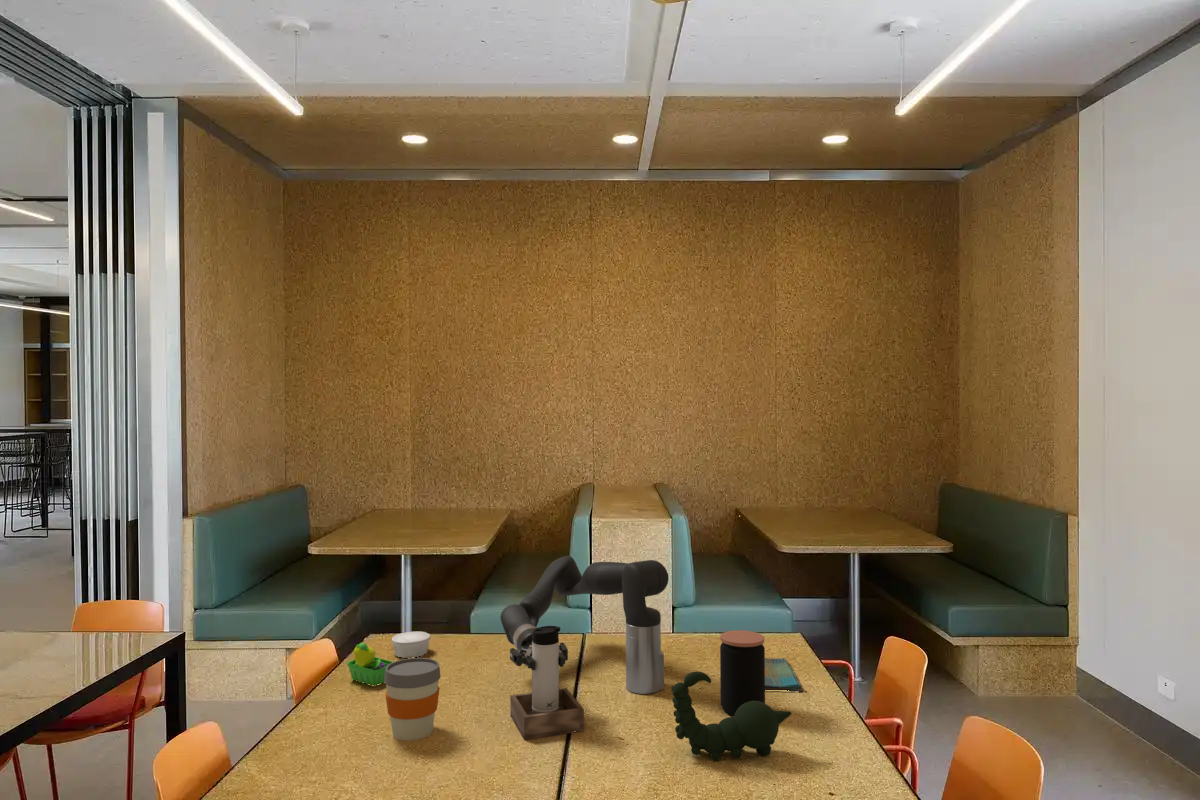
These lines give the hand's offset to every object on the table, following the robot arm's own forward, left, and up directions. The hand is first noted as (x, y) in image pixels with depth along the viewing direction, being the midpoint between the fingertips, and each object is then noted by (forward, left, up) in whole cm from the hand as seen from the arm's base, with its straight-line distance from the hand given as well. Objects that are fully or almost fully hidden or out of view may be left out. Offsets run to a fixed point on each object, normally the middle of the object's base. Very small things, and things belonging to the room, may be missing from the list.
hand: (547, 664), depth 179 cm
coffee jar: (-47, +7, -15) cm, 50 cm away
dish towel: (-64, -12, -15) cm, 67 cm away
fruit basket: (+38, -45, -15) cm, 61 cm away
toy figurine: (-33, +27, -15) cm, 45 cm away
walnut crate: (0, -2, -15) cm, 15 cm away
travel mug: (0, -2, -12) cm, 12 cm away
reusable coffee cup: (+30, -8, -15) cm, 34 cm away
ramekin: (+25, -65, -15) cm, 71 cm away
